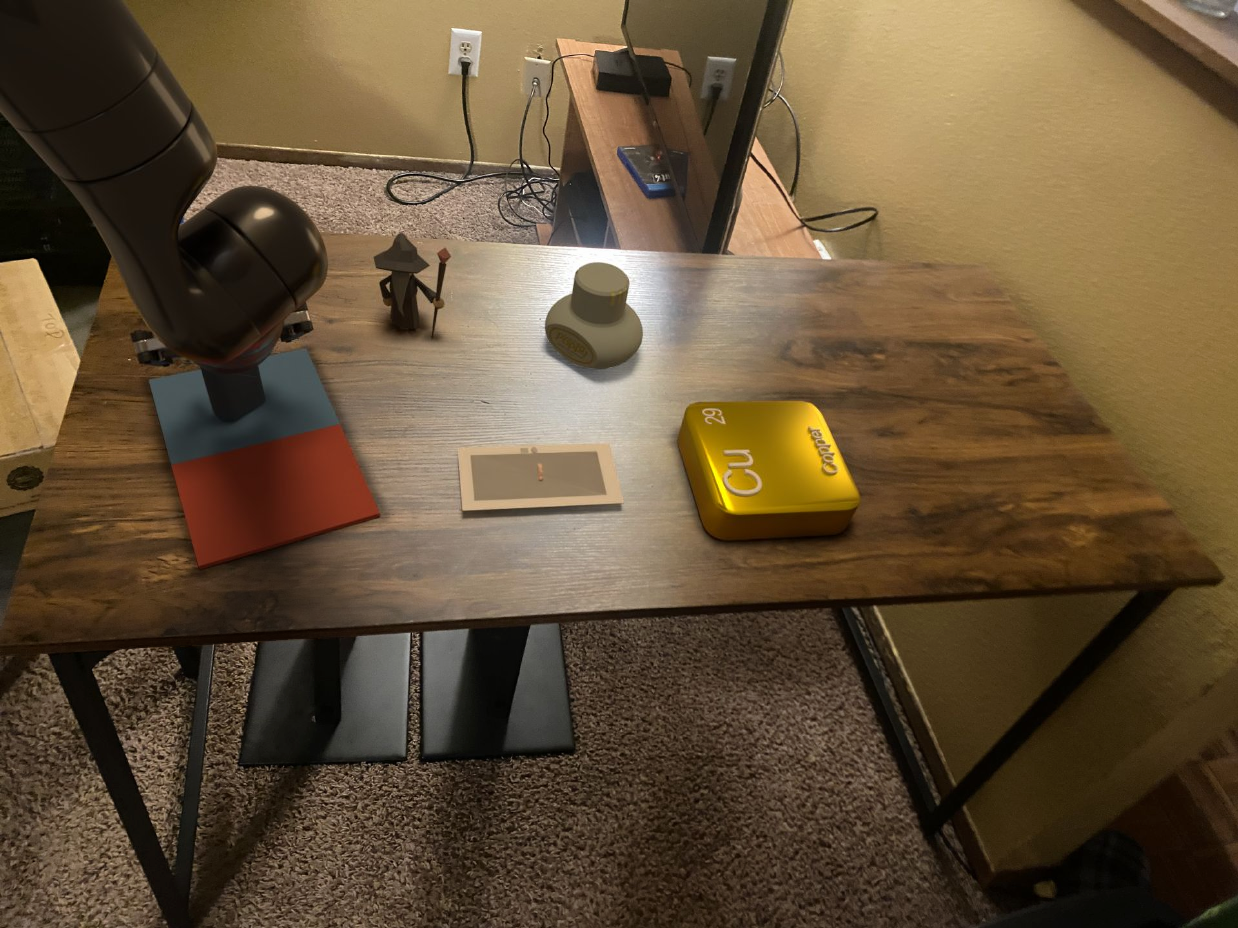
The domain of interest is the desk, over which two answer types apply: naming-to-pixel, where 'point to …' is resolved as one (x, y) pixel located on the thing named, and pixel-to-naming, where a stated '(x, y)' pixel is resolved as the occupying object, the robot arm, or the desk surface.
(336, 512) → the sorting mat
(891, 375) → the desk surface
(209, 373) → the vaping device
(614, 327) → the air freshener
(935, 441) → the desk surface
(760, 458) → the element tile
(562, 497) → the touchpad
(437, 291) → the wizard figurine
